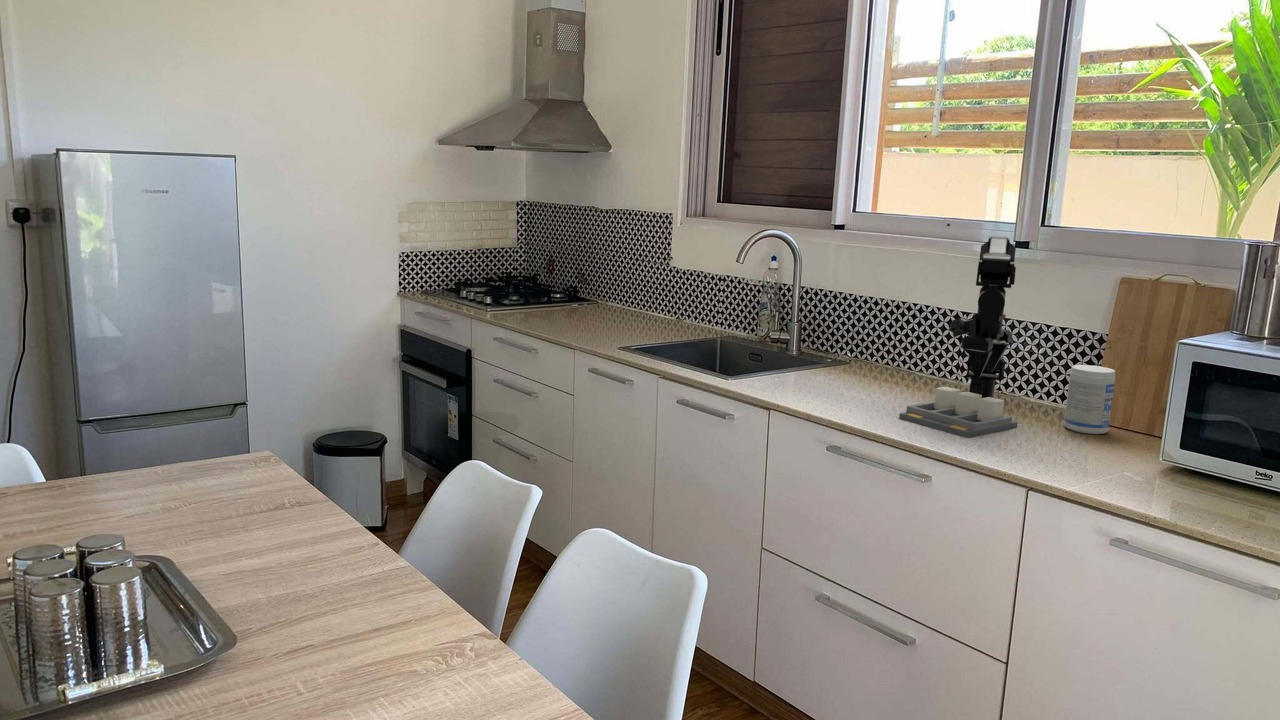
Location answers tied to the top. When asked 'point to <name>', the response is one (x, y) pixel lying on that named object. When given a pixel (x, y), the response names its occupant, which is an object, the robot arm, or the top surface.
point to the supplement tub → (1089, 399)
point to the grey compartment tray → (955, 420)
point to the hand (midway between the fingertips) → (983, 375)
